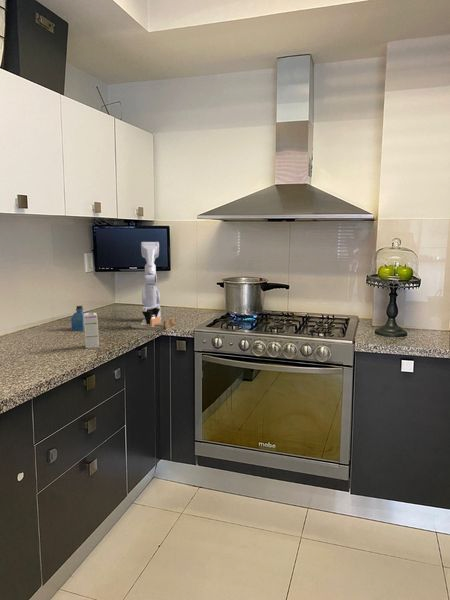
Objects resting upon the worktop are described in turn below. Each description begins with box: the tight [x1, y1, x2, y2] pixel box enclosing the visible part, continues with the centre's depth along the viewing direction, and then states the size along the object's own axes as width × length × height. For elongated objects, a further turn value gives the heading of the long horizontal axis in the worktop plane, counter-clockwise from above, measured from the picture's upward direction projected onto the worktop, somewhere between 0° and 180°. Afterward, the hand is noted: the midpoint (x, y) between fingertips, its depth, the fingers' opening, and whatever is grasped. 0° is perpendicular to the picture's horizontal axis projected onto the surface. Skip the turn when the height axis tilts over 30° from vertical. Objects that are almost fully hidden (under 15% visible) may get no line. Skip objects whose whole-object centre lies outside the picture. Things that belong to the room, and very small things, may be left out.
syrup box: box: [83, 312, 100, 349], centre depth 197 cm, size 6×6×14 cm
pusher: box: [150, 317, 164, 327], centre depth 237 cm, size 9×5×4 cm, turn 159°
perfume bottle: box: [70, 305, 87, 332], centre depth 231 cm, size 6×6×12 cm
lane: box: [130, 316, 177, 332], centre depth 238 cm, size 12×20×5 cm, turn 70°
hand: (151, 322), depth 239 cm, fingers closed on jar, 5 cm apart
